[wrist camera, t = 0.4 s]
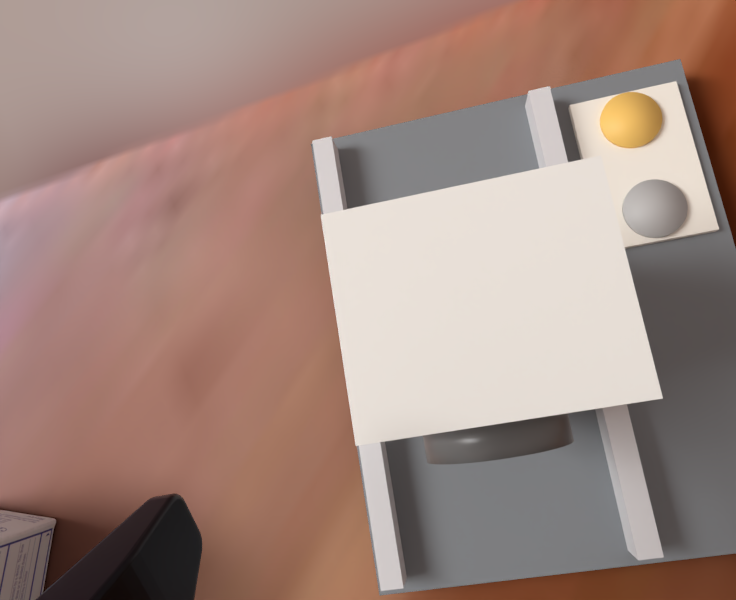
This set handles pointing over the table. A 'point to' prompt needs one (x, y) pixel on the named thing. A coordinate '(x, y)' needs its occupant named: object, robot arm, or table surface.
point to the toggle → (487, 313)
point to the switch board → (590, 427)
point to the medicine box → (24, 554)
